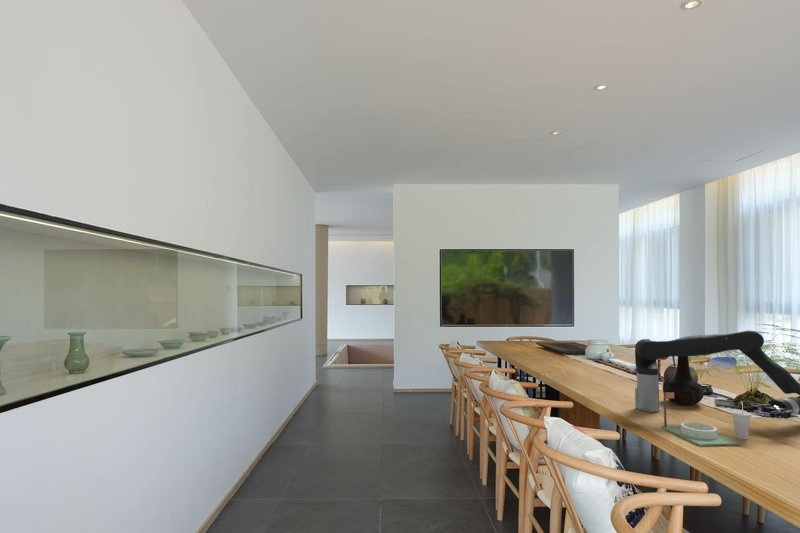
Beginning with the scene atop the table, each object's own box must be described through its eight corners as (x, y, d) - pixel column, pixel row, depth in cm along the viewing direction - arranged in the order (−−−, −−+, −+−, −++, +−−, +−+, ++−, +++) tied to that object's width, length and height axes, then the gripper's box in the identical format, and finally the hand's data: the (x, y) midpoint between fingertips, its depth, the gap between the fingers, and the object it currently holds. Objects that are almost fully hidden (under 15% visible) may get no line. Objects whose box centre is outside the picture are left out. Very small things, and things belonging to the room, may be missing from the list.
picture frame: (758, 406, 229) (714, 401, 239) (758, 402, 229) (714, 397, 239) (762, 412, 218) (716, 407, 227) (762, 408, 218) (716, 403, 228)
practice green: (661, 428, 192) (660, 392, 193) (698, 427, 193) (697, 391, 194) (699, 446, 170) (698, 405, 171) (740, 445, 171) (739, 405, 172)
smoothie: (755, 441, 176) (754, 404, 177) (736, 440, 177) (735, 403, 178) (746, 435, 182) (745, 400, 183) (728, 434, 184) (727, 399, 184)
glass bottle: (666, 397, 245) (665, 344, 247) (706, 403, 234) (705, 347, 235) (659, 403, 232) (657, 347, 233) (701, 410, 220) (699, 351, 221)
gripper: (763, 395, 198) (739, 398, 191) (803, 402, 185) (779, 407, 178) (764, 412, 197) (740, 417, 191) (804, 421, 184) (780, 426, 178)
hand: (759, 412), depth 185 cm, fingers open, 8 cm apart
